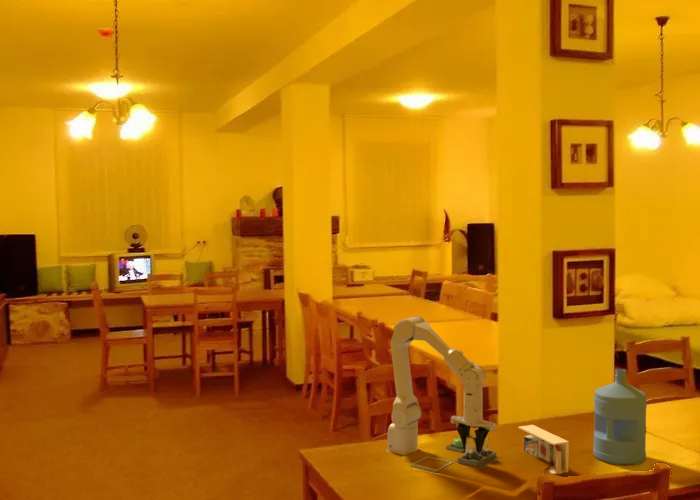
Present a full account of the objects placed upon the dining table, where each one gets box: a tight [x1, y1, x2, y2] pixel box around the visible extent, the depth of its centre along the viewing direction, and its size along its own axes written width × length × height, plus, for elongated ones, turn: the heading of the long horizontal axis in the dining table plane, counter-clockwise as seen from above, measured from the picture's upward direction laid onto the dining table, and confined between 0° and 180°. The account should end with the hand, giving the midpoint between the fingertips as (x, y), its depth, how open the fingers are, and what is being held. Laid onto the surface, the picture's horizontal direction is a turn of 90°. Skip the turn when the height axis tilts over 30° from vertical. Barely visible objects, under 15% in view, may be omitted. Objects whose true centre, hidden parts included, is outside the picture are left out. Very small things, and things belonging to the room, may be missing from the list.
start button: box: [452, 438, 463, 449], centre depth 241 cm, size 4×4×3 cm
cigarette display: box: [517, 424, 570, 475], centre depth 229 cm, size 20×6×9 cm, turn 20°
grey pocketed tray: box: [452, 450, 502, 469], centre depth 230 cm, size 10×13×3 cm
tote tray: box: [410, 455, 454, 474], centre depth 226 cm, size 9×9×1 cm
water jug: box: [592, 368, 648, 466], centre depth 234 cm, size 16×16×28 cm
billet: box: [465, 434, 479, 458], centre depth 227 cm, size 4×4×6 cm
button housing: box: [445, 442, 466, 453], centre depth 241 cm, size 6×6×2 cm
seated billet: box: [479, 436, 490, 456], centre depth 232 cm, size 4×4×6 cm
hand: (472, 450), depth 227 cm, fingers closed on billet, 4 cm apart
